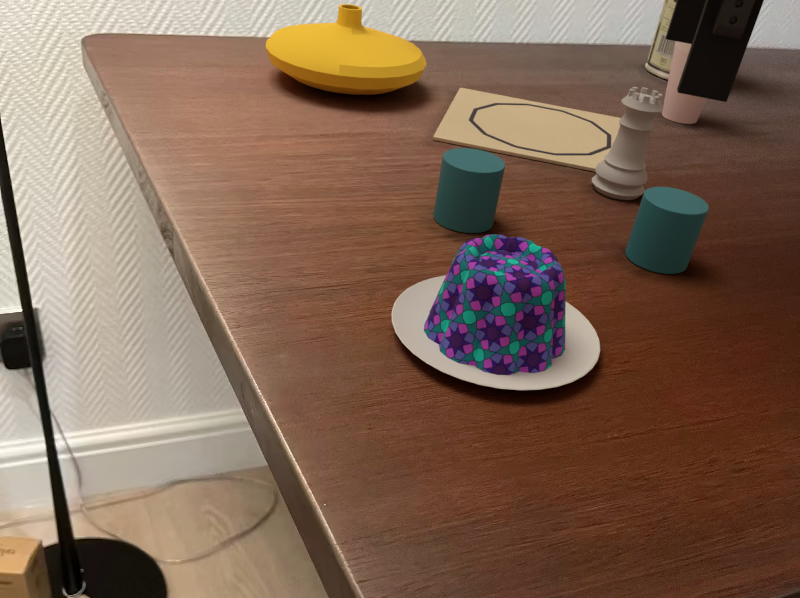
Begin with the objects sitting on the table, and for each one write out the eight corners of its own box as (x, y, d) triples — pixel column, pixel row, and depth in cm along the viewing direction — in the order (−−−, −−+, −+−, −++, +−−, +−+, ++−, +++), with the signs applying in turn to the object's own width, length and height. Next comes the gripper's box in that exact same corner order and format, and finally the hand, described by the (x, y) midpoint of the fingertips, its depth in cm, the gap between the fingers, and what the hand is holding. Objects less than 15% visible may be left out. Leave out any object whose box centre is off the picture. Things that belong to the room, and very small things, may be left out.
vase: (233, 67, 80) (232, -10, 76) (354, 54, 90) (360, -16, 85) (331, 120, 72) (337, 36, 68) (454, 98, 81) (466, 23, 77)
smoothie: (682, 131, 82) (733, -21, 74) (636, 109, 86) (679, -37, 78) (722, 125, 85) (775, -21, 77) (675, 105, 89) (721, -37, 81)
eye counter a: (496, 213, 60) (508, 155, 58) (489, 238, 57) (502, 177, 54) (438, 201, 61) (448, 143, 58) (428, 225, 57) (437, 164, 55)
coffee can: (735, 78, 102) (781, -47, 94) (715, 94, 95) (763, -40, 86) (657, 57, 106) (694, -65, 97) (632, 71, 99) (670, -60, 90)
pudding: (455, 265, 53) (469, 189, 50) (626, 335, 49) (653, 257, 45) (347, 339, 45) (356, 254, 41) (542, 432, 40) (568, 345, 37)
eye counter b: (684, 252, 59) (706, 194, 56) (689, 279, 56) (712, 219, 53) (624, 239, 59) (643, 181, 57) (625, 266, 56) (645, 205, 53)
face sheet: (632, 123, 82) (633, 119, 82) (636, 180, 69) (637, 176, 69) (459, 90, 84) (460, 86, 84) (432, 140, 71) (433, 136, 71)
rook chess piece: (594, 174, 69) (621, 78, 64) (646, 188, 68) (678, 91, 63) (585, 192, 66) (613, 92, 61) (639, 206, 65) (672, 106, 60)
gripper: (737, -368, 48) (630, 15, 61) (820, -495, 28) (636, 111, 41) (866, -350, 47) (730, 34, 60) (1044, -468, 28) (786, 141, 40)
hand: (692, 66), depth 51 cm, fingers open, 13 cm apart
